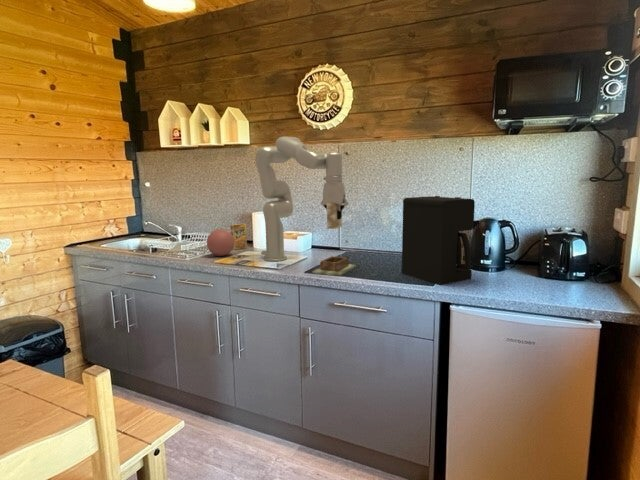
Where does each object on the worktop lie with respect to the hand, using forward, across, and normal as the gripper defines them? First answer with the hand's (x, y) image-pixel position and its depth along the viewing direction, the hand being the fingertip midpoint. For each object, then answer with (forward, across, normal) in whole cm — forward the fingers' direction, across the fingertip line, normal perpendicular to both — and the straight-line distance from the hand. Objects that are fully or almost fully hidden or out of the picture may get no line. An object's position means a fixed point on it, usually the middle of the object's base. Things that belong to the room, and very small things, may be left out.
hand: (334, 218), depth 195 cm
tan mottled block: (+4, 0, 0) cm, 4 cm away
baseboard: (+25, -115, +15) cm, 119 cm away
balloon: (+25, -74, +8) cm, 79 cm away
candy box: (+25, -78, +28) cm, 87 cm away
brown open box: (+25, 0, 0) cm, 25 cm away
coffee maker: (+25, +48, +6) cm, 54 cm away
